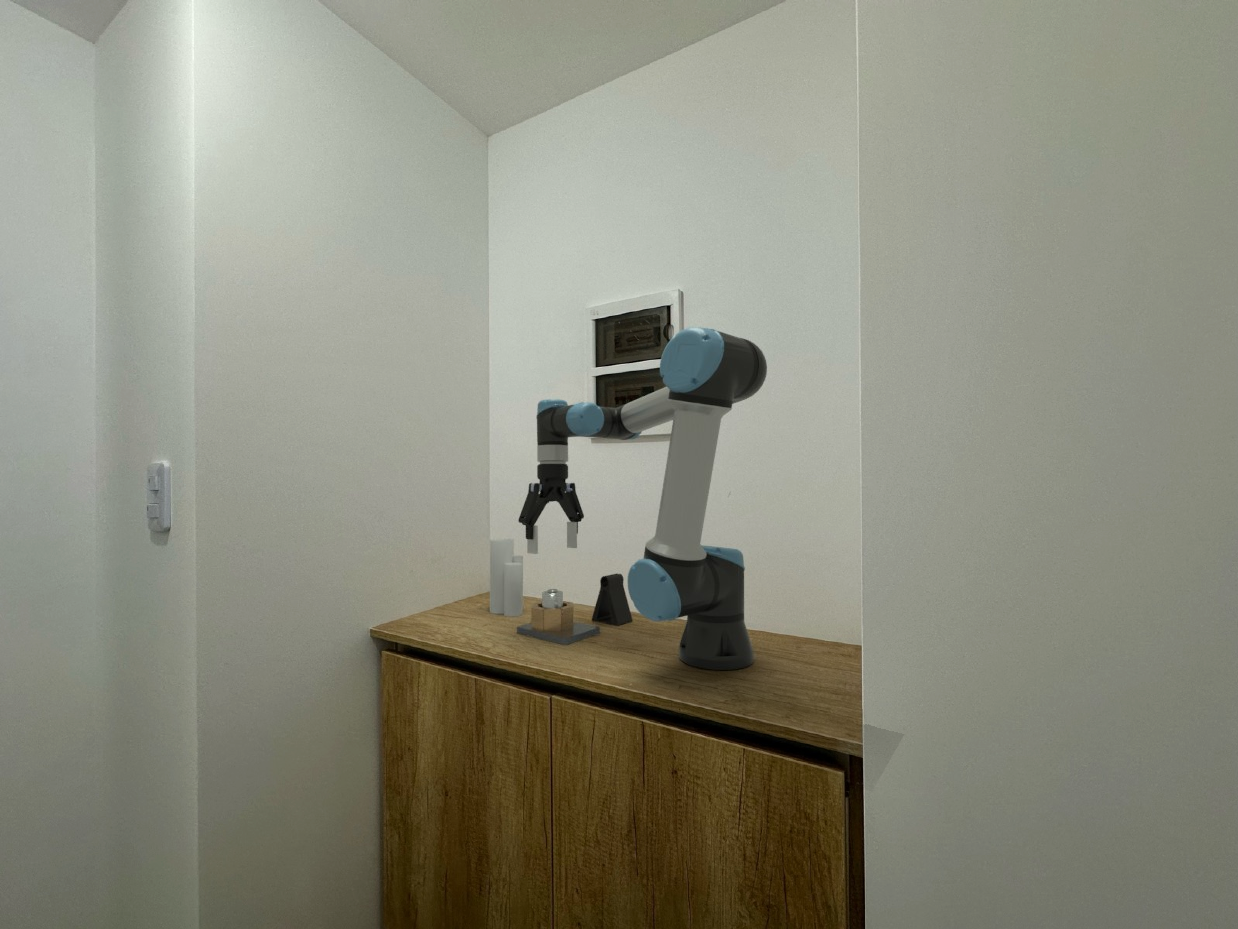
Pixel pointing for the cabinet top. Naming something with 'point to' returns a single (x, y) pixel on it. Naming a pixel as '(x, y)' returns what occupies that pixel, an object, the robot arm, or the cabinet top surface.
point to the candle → (505, 579)
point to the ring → (552, 617)
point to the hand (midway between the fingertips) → (553, 550)
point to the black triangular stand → (612, 602)
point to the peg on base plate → (564, 637)
